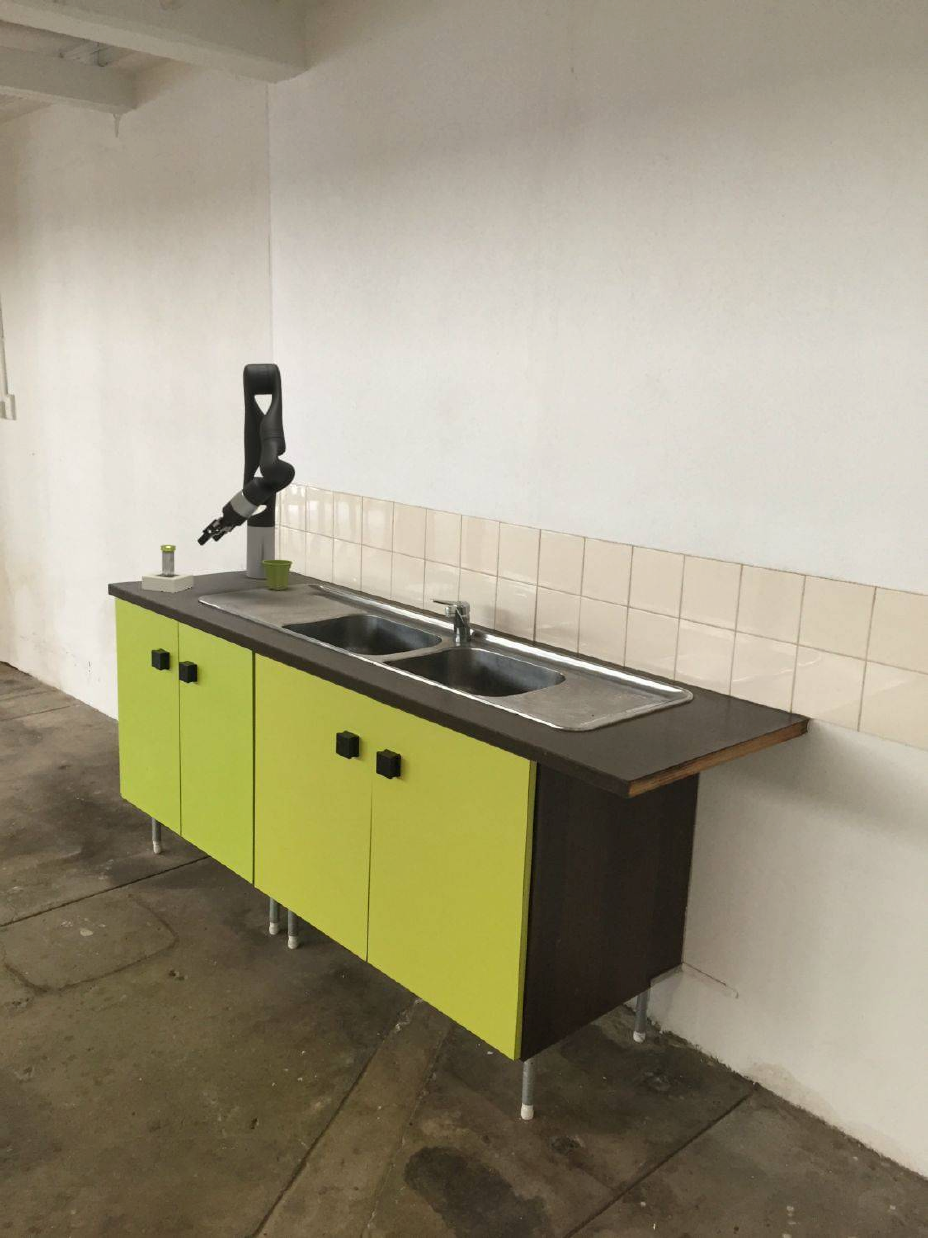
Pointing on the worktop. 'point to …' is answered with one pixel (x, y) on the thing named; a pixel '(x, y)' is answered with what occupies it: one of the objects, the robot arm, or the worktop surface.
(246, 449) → the robot arm
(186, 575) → the white square base
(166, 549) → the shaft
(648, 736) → the worktop surface
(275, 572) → the plant pot
